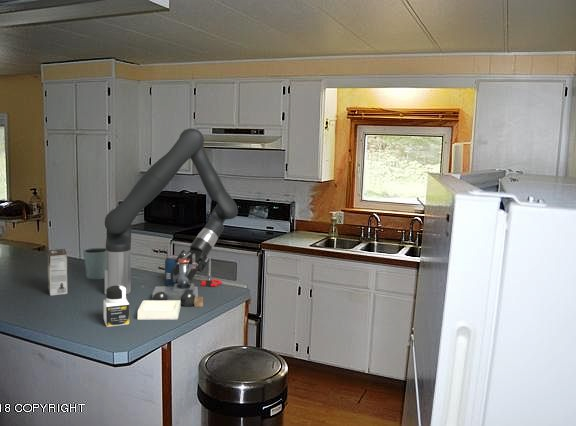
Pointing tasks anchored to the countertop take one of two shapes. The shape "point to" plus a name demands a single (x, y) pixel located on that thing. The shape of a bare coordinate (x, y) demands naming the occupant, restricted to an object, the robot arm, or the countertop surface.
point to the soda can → (169, 266)
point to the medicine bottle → (116, 306)
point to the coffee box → (57, 271)
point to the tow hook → (209, 280)
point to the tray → (159, 309)
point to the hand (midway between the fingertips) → (181, 276)
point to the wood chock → (198, 302)
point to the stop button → (183, 272)
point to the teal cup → (95, 262)
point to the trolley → (176, 294)
